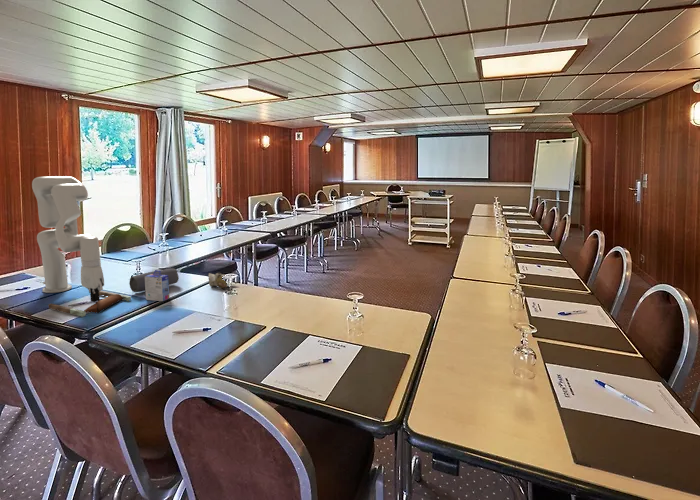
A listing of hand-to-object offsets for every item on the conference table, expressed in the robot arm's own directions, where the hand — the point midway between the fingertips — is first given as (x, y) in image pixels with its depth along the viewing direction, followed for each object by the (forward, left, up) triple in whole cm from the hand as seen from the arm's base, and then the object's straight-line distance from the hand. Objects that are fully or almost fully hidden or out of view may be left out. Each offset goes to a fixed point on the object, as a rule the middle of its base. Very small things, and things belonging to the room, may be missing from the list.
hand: (95, 301), depth 195 cm
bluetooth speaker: (+4, +31, -3) cm, 31 cm away
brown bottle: (+4, +1, -3) cm, 5 cm away
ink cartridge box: (+18, +20, -2) cm, 27 cm away
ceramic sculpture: (+32, +50, -3) cm, 59 cm away
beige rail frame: (-3, 0, -2) cm, 4 cm away
